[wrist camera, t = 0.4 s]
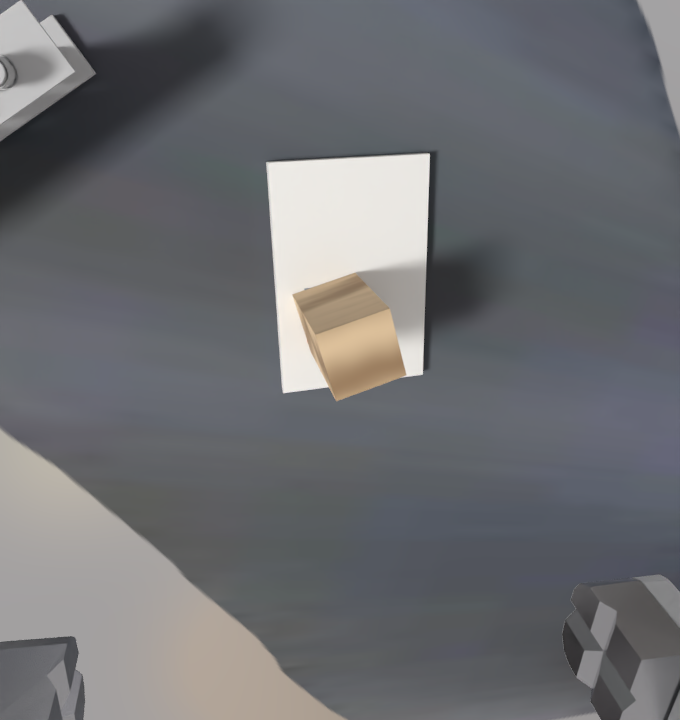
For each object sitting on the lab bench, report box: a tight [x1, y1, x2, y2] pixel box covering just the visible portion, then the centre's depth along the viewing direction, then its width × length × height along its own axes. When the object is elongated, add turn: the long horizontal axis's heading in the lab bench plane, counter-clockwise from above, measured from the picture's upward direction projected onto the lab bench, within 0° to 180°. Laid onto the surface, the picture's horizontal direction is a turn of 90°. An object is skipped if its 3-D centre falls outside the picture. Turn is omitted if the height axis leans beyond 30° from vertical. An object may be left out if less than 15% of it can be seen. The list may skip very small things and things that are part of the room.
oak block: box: [292, 273, 406, 401], centre depth 53 cm, size 6×6×10 cm
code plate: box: [266, 153, 430, 393], centre depth 57 cm, size 21×14×1 cm, turn 1°
